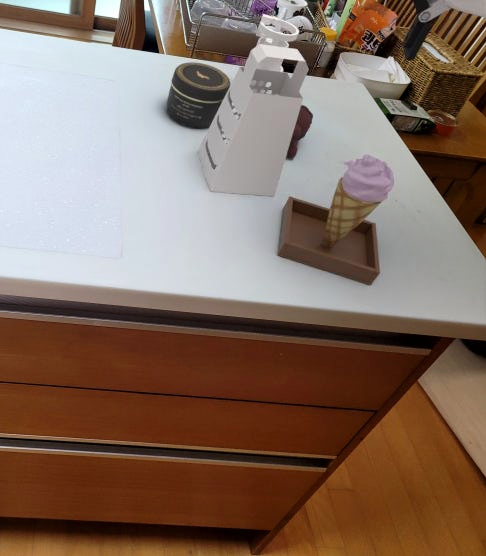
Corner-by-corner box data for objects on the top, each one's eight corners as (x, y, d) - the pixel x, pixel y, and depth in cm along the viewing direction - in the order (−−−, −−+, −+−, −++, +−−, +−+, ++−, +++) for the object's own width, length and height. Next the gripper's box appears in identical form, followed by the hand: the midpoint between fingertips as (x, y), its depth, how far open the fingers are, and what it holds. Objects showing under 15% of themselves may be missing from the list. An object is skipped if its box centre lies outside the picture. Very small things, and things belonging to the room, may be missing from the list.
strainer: (237, 84, 110) (264, 7, 99) (271, 94, 110) (302, 18, 99) (233, 100, 105) (261, 21, 95) (269, 110, 105) (301, 32, 94)
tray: (367, 235, 83) (375, 223, 81) (370, 285, 75) (380, 273, 73) (282, 208, 84) (289, 196, 82) (277, 255, 76) (284, 242, 74)
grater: (197, 151, 91) (236, 30, 76) (256, 157, 93) (305, 40, 78) (210, 191, 84) (256, 66, 69) (274, 196, 86) (331, 76, 71)
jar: (210, 137, 95) (224, 97, 89) (156, 117, 96) (166, 77, 90) (223, 112, 101) (237, 73, 96) (173, 94, 103) (184, 55, 97)
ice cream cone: (296, 230, 80) (344, 142, 69) (328, 224, 82) (380, 138, 71) (324, 262, 76) (379, 174, 65) (357, 255, 78) (416, 169, 68)
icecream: (270, 80, 99) (272, 129, 90) (313, 80, 98) (319, 129, 88) (266, 114, 104) (267, 163, 95) (306, 114, 103) (312, 164, 94)
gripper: (649, -102, 50) (521, 74, 63) (460, -146, 52) (371, 35, 64) (685, -85, 45) (538, 104, 57) (474, -134, 47) (375, 60, 59)
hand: (450, 67), depth 61 cm, fingers open, 9 cm apart
